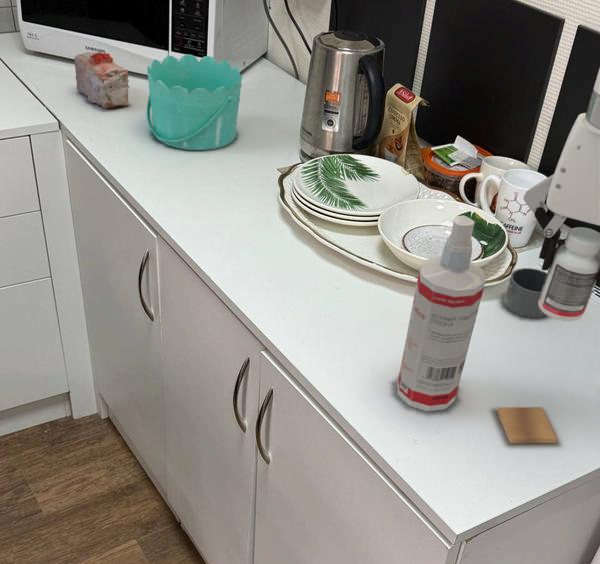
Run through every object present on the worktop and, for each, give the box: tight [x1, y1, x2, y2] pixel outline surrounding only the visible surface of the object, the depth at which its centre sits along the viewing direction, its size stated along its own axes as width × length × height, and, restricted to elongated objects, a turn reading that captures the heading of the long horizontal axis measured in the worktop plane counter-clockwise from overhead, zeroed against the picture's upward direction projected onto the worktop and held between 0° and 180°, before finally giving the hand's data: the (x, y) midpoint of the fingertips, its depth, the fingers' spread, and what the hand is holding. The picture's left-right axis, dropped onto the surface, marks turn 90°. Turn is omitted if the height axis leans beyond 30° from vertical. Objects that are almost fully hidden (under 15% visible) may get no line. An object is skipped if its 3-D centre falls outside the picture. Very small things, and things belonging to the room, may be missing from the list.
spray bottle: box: [397, 214, 487, 412], centre depth 98 cm, size 8×8×25 cm
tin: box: [503, 267, 548, 319], centre depth 123 cm, size 7×7×4 cm
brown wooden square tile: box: [496, 406, 558, 445], centre depth 102 cm, size 6×6×1 cm
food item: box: [74, 51, 130, 109], centre depth 173 cm, size 14×8×10 cm, turn 41°
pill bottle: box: [538, 226, 600, 322], centre depth 91 cm, size 5×5×10 cm
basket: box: [146, 53, 243, 151], centre depth 161 cm, size 19×18×13 cm
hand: (573, 271), depth 91 cm, fingers closed on pill bottle, 5 cm apart
